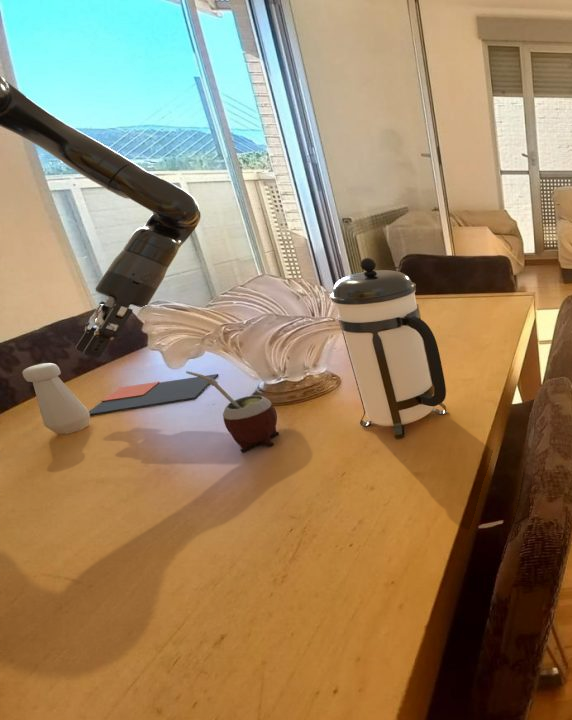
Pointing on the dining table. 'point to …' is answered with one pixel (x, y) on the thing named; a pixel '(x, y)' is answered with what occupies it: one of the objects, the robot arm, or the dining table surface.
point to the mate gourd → (248, 419)
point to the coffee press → (389, 347)
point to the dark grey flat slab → (152, 394)
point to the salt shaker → (56, 400)
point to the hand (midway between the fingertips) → (86, 353)
